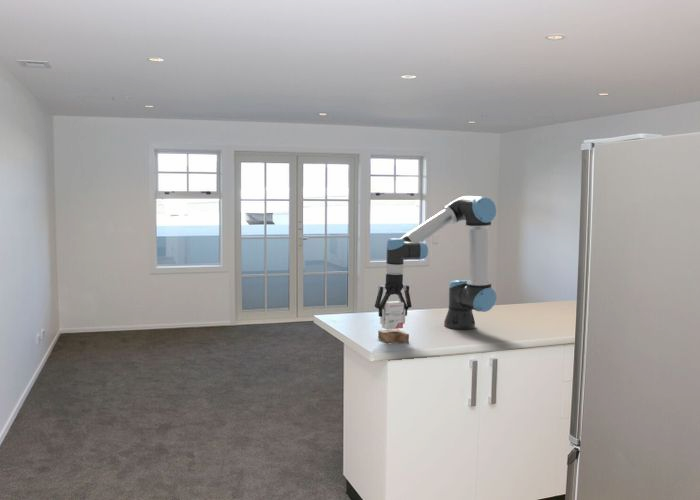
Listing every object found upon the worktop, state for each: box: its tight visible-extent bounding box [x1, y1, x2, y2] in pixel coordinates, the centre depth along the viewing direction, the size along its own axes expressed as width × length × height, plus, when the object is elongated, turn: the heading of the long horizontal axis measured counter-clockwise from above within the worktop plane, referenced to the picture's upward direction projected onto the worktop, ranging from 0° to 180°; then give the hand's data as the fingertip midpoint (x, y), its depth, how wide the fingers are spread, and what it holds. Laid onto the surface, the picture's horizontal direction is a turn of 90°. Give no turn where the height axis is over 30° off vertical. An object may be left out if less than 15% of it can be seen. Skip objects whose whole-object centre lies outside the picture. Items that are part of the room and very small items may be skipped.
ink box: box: [381, 300, 404, 330], centre depth 299 cm, size 9×5×12 cm, turn 122°
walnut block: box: [377, 328, 410, 344], centre depth 299 cm, size 10×10×4 cm
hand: (392, 323), depth 299 cm, fingers open, 9 cm apart
